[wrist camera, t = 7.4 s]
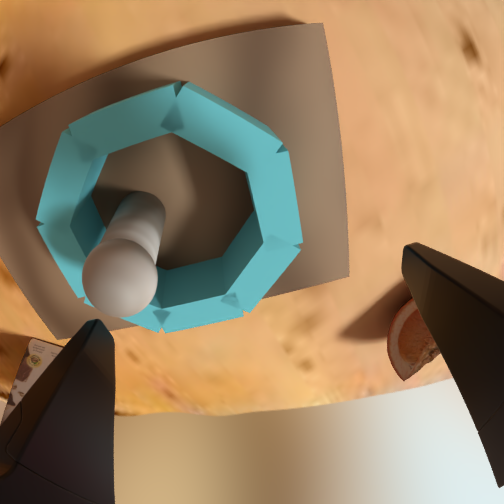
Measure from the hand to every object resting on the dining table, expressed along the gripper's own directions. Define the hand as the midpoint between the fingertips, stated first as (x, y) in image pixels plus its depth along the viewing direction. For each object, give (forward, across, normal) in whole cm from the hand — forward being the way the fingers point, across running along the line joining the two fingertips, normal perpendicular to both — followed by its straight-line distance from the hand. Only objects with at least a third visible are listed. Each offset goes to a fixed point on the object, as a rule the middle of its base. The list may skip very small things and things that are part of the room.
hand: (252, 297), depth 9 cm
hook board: (+9, +4, 0) cm, 10 cm away
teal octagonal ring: (+8, +3, 0) cm, 8 cm away
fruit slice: (+9, -12, +14) cm, 21 cm away
